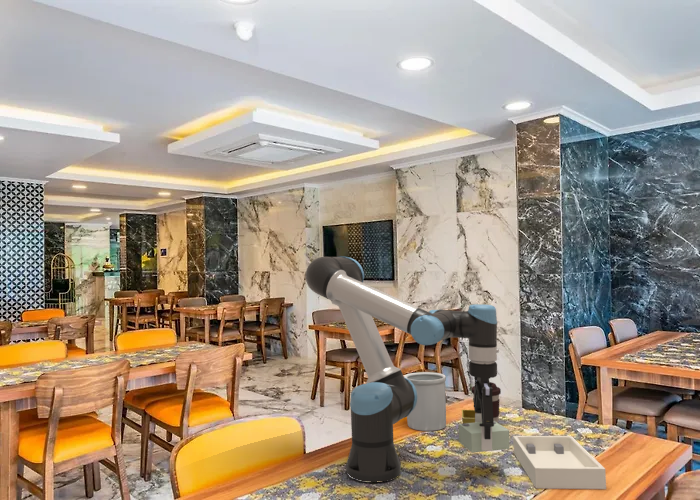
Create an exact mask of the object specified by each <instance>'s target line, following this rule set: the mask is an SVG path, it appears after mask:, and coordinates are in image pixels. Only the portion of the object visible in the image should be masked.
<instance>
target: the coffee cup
mask: <svg viewBox="0 0 700 500" xmlns="http://www.w3.org/2000/svg"><path fill="white" fill-rule="evenodd" d="M489 382H490V381H489ZM490 384H491V385H492V389H493V390H492V401H493V420H494V421H495V422H497V423H499V416H500V395H501V391H502V390H501V388H500V387H499V386H497V385H496V383H494V382H490ZM470 389H471V390H470V391H471V393H472V395H473V396H474V390H475V385H474V386H472V387H471V388H470ZM472 400H473V403H474V397H473V398H472ZM473 410H475V408H474V407H473Z"/></svg>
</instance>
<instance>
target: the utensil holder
mask: <svg viewBox="0 0 700 500" xmlns="http://www.w3.org/2000/svg"><path fill="white" fill-rule="evenodd" d="M403 376H404V377H405V378H406V379H408V380H410V381H411V382H412V383H413V384H414V386H415V388H416V391H417V403H416V406H415V408H414V410H413V411H412V412H411V413H410V414H409V415H408V416H407V417H406V420H407V426H408V427H409V428H410V429H413V430H416V431H421V432H431V431H439V430H442V429H444V428H446V426H447V403H446V400H447V399H446V398H447V397H446V395H447V394H446V380H447V376H446V375H445V374H443V373H439V372H432V371H430V372H429V371H422V372H412V373H411V372H410V373H407V374H405V375H403Z"/></svg>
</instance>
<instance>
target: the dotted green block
mask: <svg viewBox="0 0 700 500" xmlns="http://www.w3.org/2000/svg"><path fill="white" fill-rule="evenodd" d="M479 424H482V422H476V423H463V422H462V423H458V443H460V444H461V445H462V446H463V447H464V448H466V449H467V451H469V452H470V453H481V452H482V453H484V452H485V451H482V450H481V426H479ZM510 448H511V447H510V430H509V429H508V428H506V427H505V426H503V425H501V424H500V423H499V422H498V423H497V422H495V421H494V426H493V427H492V451H491V452H494V451H503V450H504V451H505V450H510Z"/></svg>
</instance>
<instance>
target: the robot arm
mask: <svg viewBox="0 0 700 500" xmlns="http://www.w3.org/2000/svg"><path fill="white" fill-rule="evenodd" d="M364 279H365V272H364V269H363V267H362V265H361V264H360V263H359V261H357V260H356V259H354V258H352V257H348V256H345V255H344V256H342V255H340V256H320V257H316V258H315V259H313V260H312V261H311V262H310V263H309V264H308V266H307V268H306V271H305V281H306V284H307V286H308V288H309V289H310V290H311V291H312V292H314V293H315V294H316V295H318V296H320V297H323V298H325V299H327V300H329V301H331V304H333V305H335V306H337V307H338V309H339V311H340V313H341V316H342V318H343V320H344V323H345V325H346V328H347V330H348V332H349V334H350V338H351V339H352V342H353V344H354V347H355V349H356V351H357V355H359V359H360V361H361V363H362V365H363V368H364V370H365V372H366V373H365V374H366V375H367V379H366V383H363V384H360V385H358V386H356V387H354V388H353V390H352V391H351V394H350V402H349V406H350V424H351V425H350V426H351V447H350V449H349V453H348V457H347V460H346V465H345V467H346V471H347V472H346V474H347V473H348V474H349V475H350V476H351V477H353V478H355V479H358V480H362V481H371V482H377V481H387V480H390V481H392V480H391V479H393V478H395V479H397V478H398V477H399V476H400V475H401V472H402V470H401V469H402V466H401V461H400V458H399V455H398V453H397V450H396V446H395V444H394V442H395V441H394V425H395V424H396V423H398V422H399V421H401V420H403V419H404V418H407V416H408V415H409V414H410V413H411V412H412V411H413V410H414V408H415V406H416V403H417V391H416V388H415V386H414V384H413V383H412V382H411V381H410V380H408V379H406V378H405V377H404V376H405V375H404V374H403V372H402V369H401V368H399V367H396V366H395V365H394V364H393V361H392V359H391V356H390V355H389V353H388V350H387V348H386V346H385V342H384V340H383V338H382V336H381V334H380V331H379V329H378V327H377V325H376V323H375V321H374V318H375V319H377V320H378V321H381V322H383V323H386V324H388V325H390V326H392V327H394V328H396V329H399V330H400V331H403V332H404V333H406V334H409V335H410V336H411V337H412V339H413V340H414V341H415V342H416V343H417V344H419V345H421V346H432V345H436V344H438V343H439V342H441V341H444V340H446V339H449V338H459V339H460V338H461V339H468V360H469V362H468V374H469V375H470V376H471V377H473V379H474V386H475V390H474V395H473V398H474V402H473V409H474V408H475V412H477V413H475V423H476V422H482V424H479V426H481V450H482V451H484V452H493V451H492V427H493V426H494V420H493V401H492V390H493V389H492V385H491V384H490V379H491V378H496V377H498V363H497V362H496V361H497V359H498V353H499V352H500V349H498V344H497V343H498V341H497V339H498V320H497V319H498V318H497V308H496V306H495V305H491V304H483V303H481V304H479V303H474V304H470V305H469V306H468V310H465V311H464V310H463V311H462V310H447V309H431V310H429V311H427V310H425V309H422V308H420V307H418V306H417V305H414V304H412V303H410V302H407V301H405V300H403V299H400V298H398V297H396V296H394V295H392V294H389V293H387V292H384V291H382V290H381V289H378V288H376V287H374V286H371V285H369V284H367V283H365V282H364ZM397 476H398V477H397ZM396 477H397V478H396ZM393 480H394V479H393ZM387 482H388V481H387Z"/></svg>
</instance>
